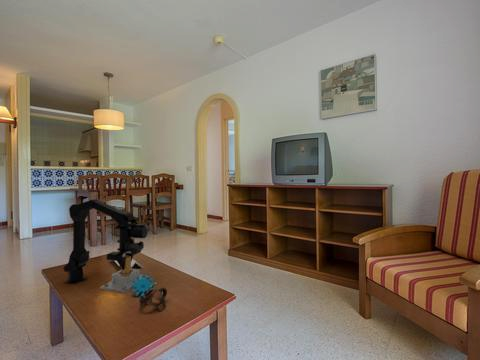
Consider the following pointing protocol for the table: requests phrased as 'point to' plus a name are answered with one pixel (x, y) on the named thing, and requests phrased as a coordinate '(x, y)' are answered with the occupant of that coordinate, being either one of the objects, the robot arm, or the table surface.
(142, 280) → the gear
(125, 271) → the wedge pin
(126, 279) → the bracket collar
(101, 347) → the table surface
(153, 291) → the dark brown loop tangle
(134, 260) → the z bracket
